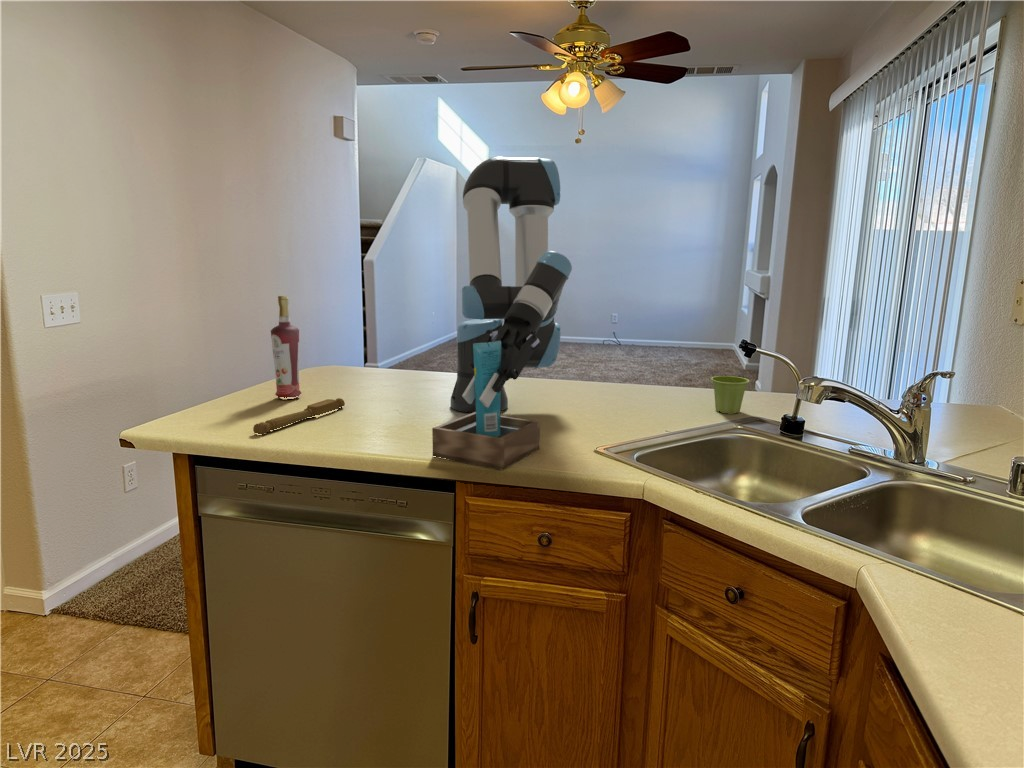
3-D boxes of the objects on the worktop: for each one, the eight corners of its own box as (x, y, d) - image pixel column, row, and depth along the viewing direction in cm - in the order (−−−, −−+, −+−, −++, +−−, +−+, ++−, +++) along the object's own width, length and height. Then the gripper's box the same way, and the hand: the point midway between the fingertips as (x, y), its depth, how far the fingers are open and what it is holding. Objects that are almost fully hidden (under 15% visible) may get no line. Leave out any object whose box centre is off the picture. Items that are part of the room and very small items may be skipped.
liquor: (308, 397, 188) (303, 296, 183) (286, 402, 182) (281, 297, 176) (290, 394, 192) (285, 294, 186) (268, 398, 186) (262, 296, 180)
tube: (491, 430, 142) (491, 339, 139) (508, 434, 139) (509, 341, 136) (466, 437, 137) (466, 342, 133) (484, 441, 134) (484, 345, 130)
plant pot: (748, 417, 172) (751, 383, 171) (710, 414, 174) (712, 381, 173) (744, 408, 181) (746, 376, 180) (707, 406, 183) (709, 375, 182)
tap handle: (251, 422, 150) (337, 396, 177) (252, 436, 151) (337, 407, 178) (262, 424, 149) (346, 397, 176) (263, 437, 150) (347, 408, 177)
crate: (432, 456, 136) (432, 428, 135) (475, 438, 150) (475, 411, 149) (501, 470, 129) (501, 439, 128) (539, 449, 143) (540, 421, 141)
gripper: (567, 327, 141) (516, 419, 131) (504, 321, 151) (453, 406, 142) (553, 302, 136) (499, 396, 126) (489, 298, 146) (435, 384, 137)
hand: (475, 401), depth 134 cm, fingers closed on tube, 4 cm apart
